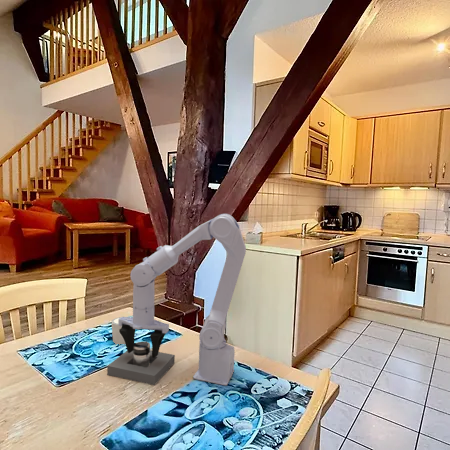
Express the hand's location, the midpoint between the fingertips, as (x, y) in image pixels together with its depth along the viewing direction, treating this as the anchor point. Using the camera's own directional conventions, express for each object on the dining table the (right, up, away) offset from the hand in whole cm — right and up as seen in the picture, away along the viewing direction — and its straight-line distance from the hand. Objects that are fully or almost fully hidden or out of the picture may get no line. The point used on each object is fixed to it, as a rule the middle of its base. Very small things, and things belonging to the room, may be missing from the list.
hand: (142, 353), depth 93 cm
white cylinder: (-11, -3, +17) cm, 20 cm away
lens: (0, -4, 0) cm, 4 cm away
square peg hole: (0, -4, 0) cm, 4 cm away
